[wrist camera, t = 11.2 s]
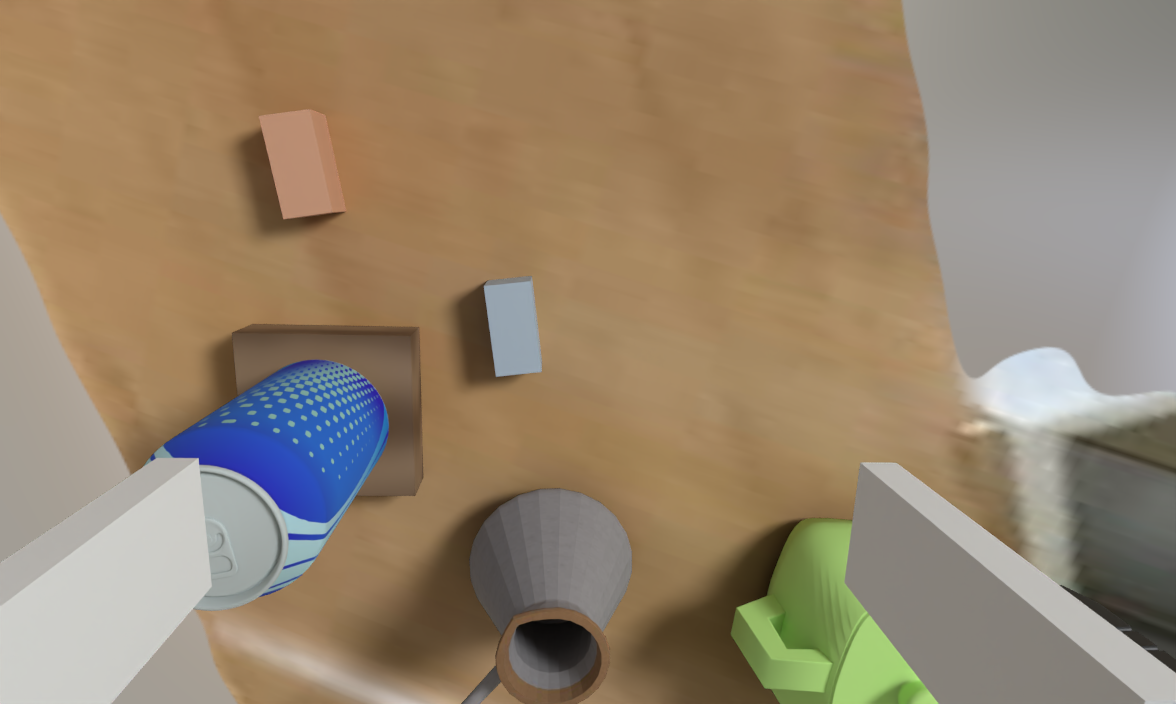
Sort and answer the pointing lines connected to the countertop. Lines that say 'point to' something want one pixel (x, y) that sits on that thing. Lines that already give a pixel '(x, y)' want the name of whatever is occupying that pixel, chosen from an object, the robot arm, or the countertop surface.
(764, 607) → the teapot
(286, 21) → the countertop surface
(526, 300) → the greyblue brick
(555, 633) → the coffee pot
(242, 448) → the beer can
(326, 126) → the terracotta brick
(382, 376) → the walnut slab
